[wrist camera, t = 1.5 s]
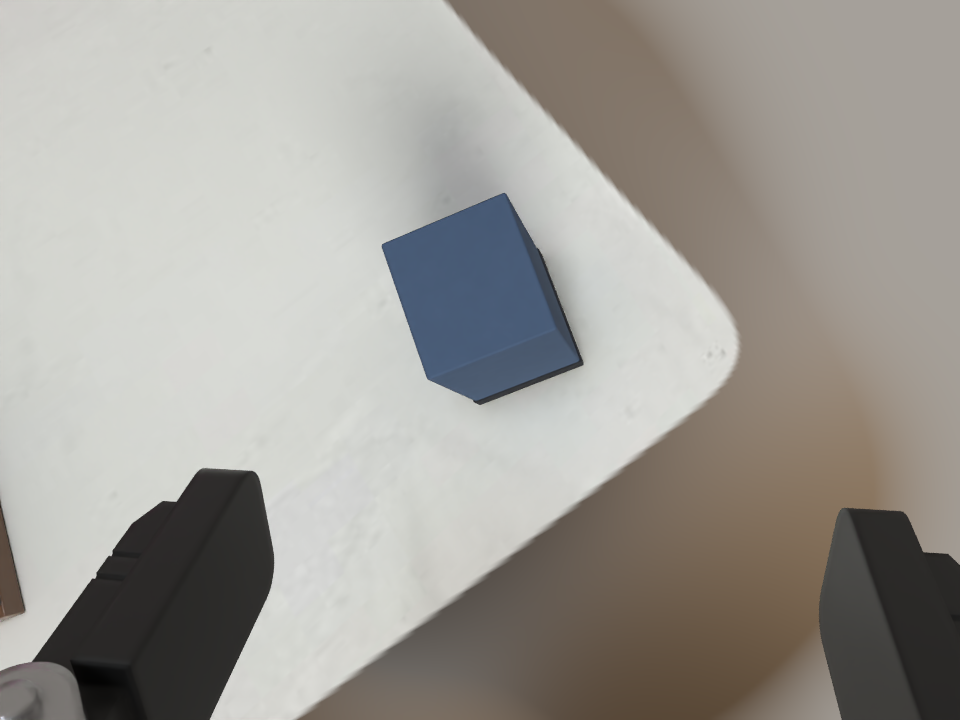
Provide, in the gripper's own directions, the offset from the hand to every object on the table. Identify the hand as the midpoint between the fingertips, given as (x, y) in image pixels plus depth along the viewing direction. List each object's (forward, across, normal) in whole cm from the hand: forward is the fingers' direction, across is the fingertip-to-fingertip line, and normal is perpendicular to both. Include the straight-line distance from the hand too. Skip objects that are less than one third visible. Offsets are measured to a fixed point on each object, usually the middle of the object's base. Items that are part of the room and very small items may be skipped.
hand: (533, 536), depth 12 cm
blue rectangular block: (+22, +3, +8) cm, 24 cm away
